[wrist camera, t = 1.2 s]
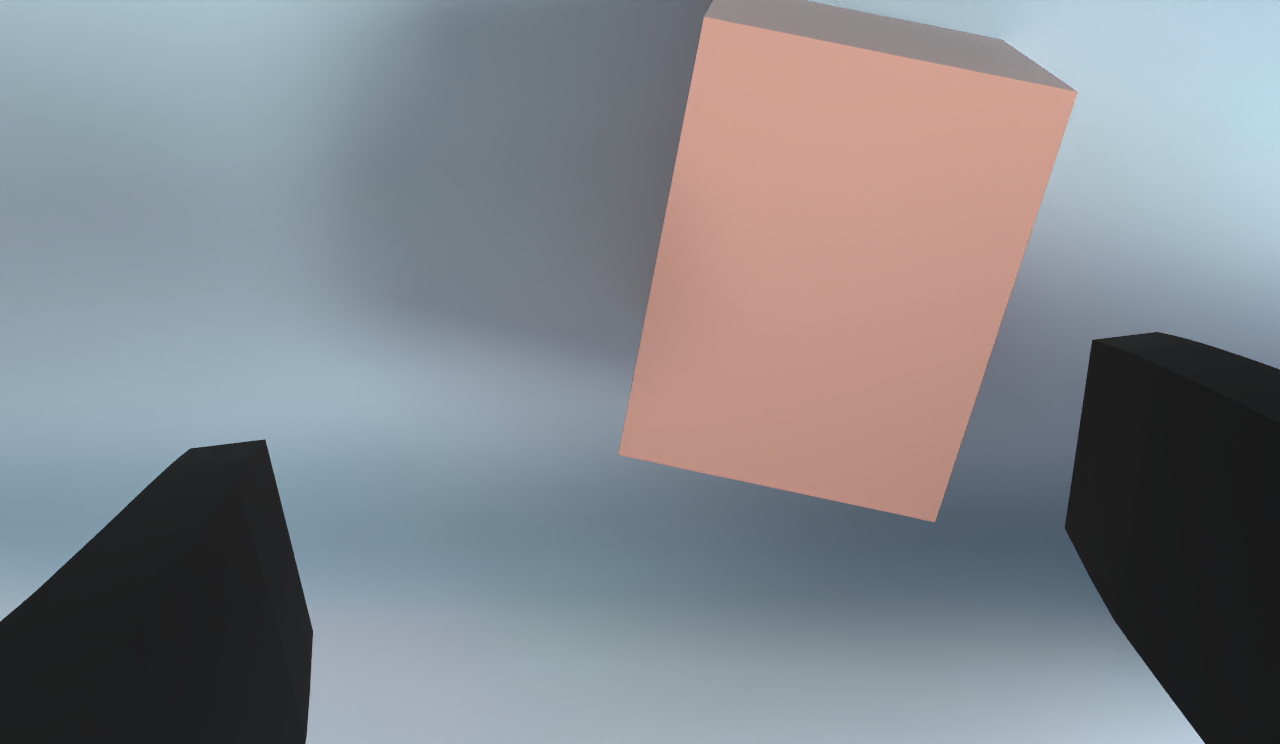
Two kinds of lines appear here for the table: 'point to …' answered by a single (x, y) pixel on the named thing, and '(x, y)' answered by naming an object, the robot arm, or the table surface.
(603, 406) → the table surface
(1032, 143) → the coral box
